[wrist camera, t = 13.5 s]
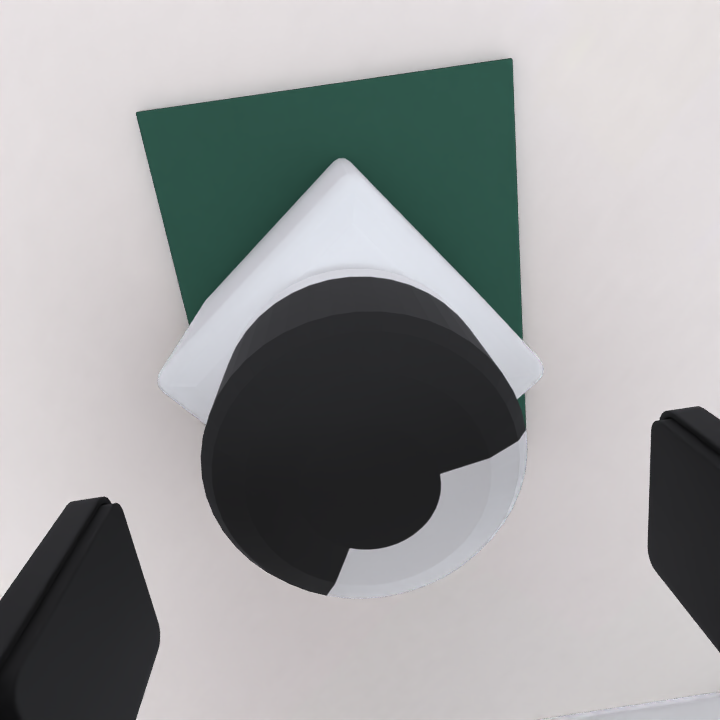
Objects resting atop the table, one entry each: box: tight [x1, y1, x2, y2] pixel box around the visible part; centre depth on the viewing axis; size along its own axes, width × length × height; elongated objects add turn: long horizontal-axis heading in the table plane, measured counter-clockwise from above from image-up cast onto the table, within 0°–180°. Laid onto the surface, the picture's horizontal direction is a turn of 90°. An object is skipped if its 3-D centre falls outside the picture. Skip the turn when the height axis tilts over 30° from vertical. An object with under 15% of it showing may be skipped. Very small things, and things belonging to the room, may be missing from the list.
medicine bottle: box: [158, 158, 544, 599], centre depth 16 cm, size 7×7×12 cm
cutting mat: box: [136, 58, 526, 427], centre depth 22 cm, size 14×12×1 cm
